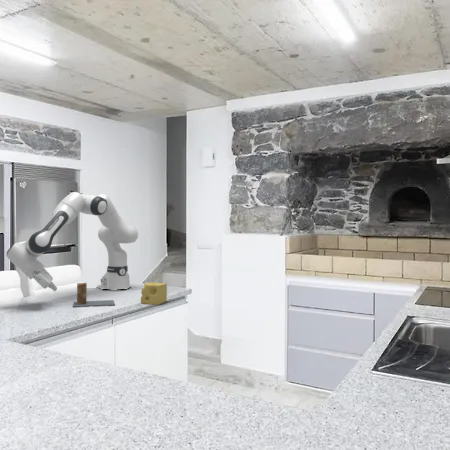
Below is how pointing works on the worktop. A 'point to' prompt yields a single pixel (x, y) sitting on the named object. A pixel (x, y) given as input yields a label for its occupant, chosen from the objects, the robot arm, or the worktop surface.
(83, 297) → the walnut block
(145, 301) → the cheese
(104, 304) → the slate mat
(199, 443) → the worktop surface
